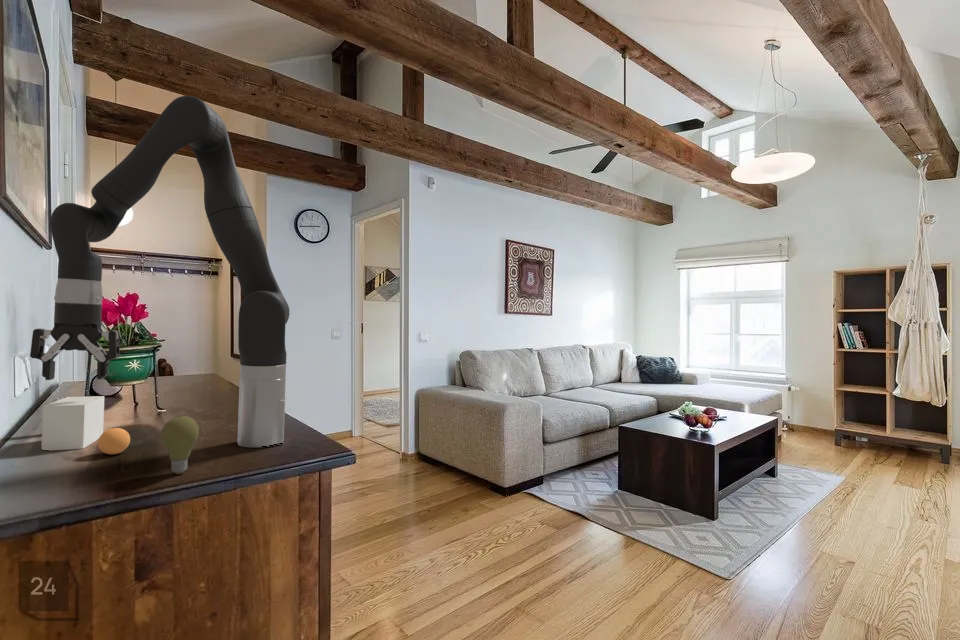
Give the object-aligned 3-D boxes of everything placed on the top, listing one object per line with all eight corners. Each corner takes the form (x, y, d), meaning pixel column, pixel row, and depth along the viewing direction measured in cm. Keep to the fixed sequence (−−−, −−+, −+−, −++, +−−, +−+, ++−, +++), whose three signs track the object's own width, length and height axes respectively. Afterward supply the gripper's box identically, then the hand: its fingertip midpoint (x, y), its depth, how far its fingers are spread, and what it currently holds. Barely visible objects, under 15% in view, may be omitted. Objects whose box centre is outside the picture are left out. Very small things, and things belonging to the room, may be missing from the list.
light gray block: (103, 435, 105) (104, 396, 105) (83, 448, 95) (84, 404, 95) (65, 437, 103) (67, 397, 103) (41, 450, 92) (43, 406, 92)
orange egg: (133, 449, 95) (134, 424, 95) (125, 456, 91) (125, 430, 91) (103, 451, 94) (103, 426, 94) (93, 458, 89) (94, 432, 89)
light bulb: (174, 467, 85) (176, 412, 85) (204, 469, 85) (206, 413, 85) (151, 477, 80) (153, 418, 80) (184, 479, 80) (186, 420, 80)
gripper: (125, 304, 105) (122, 377, 105) (44, 300, 99) (40, 377, 99) (114, 303, 98) (110, 381, 98) (25, 299, 93) (22, 382, 92)
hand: (75, 379), depth 99 cm, fingers open, 8 cm apart
